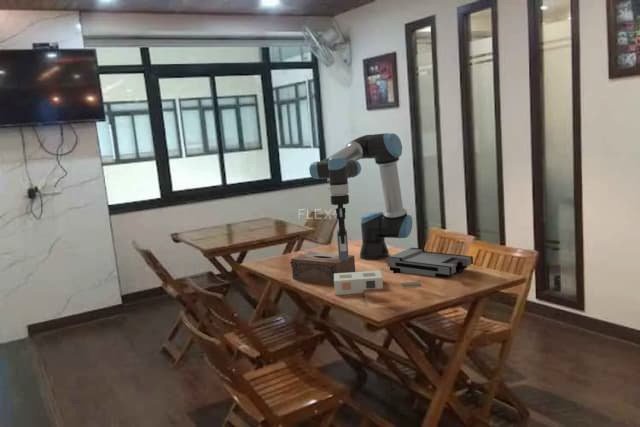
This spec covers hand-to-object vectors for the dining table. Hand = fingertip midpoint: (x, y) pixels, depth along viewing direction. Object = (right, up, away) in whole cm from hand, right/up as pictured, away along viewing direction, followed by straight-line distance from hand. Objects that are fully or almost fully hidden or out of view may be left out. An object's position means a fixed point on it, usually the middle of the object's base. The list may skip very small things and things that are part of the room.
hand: (343, 249), depth 233 cm
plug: (0, -4, +1) cm, 4 cm away
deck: (+28, -16, -2) cm, 33 cm away
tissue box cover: (-8, -15, +26) cm, 31 cm away
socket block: (+7, -17, +3) cm, 18 cm away
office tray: (+41, -12, +20) cm, 47 cm away
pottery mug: (-18, -13, +46) cm, 51 cm away
